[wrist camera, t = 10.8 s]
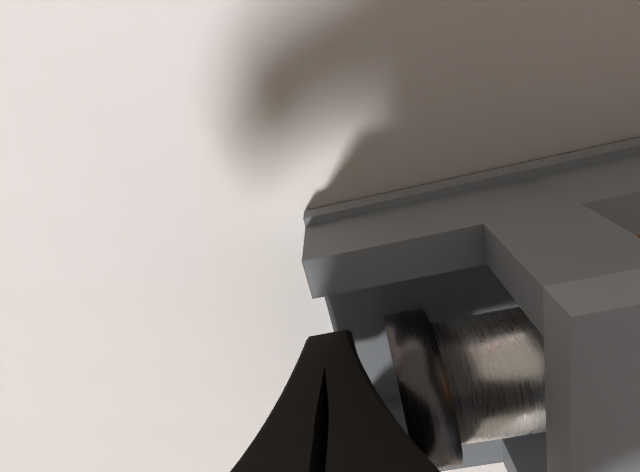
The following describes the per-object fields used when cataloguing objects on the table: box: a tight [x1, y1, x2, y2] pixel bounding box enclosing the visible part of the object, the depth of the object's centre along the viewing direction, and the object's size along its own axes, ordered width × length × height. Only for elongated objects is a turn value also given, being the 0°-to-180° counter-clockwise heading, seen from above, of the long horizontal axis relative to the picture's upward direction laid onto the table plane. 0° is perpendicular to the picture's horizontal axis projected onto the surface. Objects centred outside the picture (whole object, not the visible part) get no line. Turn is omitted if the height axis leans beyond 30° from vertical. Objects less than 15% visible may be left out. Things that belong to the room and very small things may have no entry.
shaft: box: [383, 307, 546, 469], centre depth 10 cm, size 7×4×4 cm, turn 103°
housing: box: [302, 137, 640, 472], centre depth 10 cm, size 14×8×6 cm, turn 103°
